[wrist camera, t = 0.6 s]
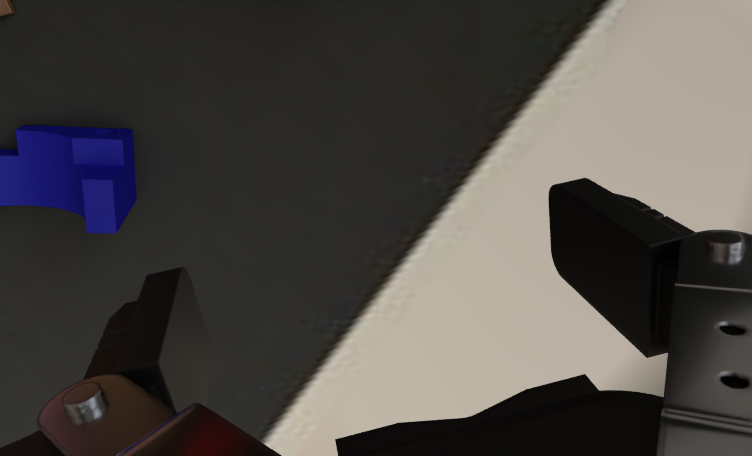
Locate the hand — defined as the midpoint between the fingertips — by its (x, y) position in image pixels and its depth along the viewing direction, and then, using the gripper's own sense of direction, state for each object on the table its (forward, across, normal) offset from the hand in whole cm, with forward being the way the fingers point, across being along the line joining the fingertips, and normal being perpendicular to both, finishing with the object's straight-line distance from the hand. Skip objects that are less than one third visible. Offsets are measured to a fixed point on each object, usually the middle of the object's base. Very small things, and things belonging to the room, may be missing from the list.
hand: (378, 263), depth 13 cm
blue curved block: (+27, +17, +2) cm, 32 cm away
